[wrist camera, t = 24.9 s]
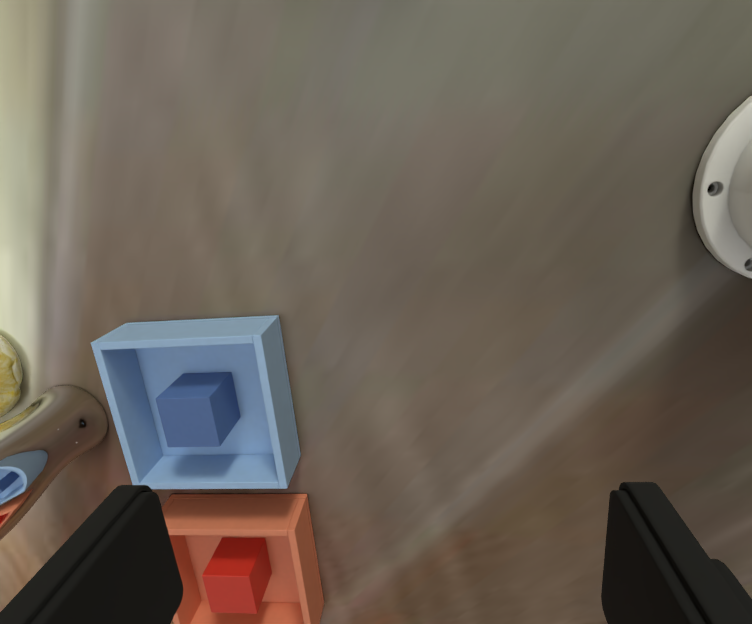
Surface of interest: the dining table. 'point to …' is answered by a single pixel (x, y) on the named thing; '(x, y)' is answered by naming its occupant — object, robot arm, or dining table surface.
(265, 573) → the red block
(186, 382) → the blue block
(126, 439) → the blue bin
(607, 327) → the dining table surface
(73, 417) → the beer glass
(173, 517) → the terracotta bin
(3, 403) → the bread roll
